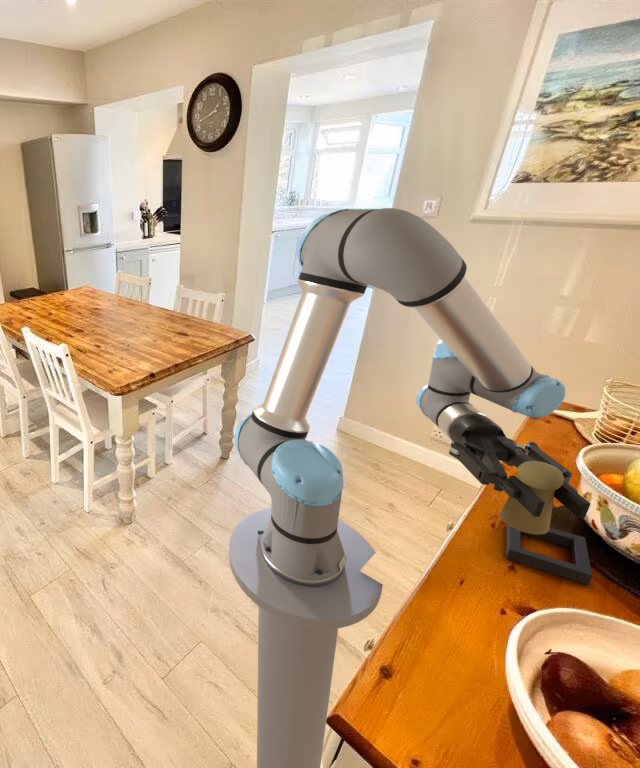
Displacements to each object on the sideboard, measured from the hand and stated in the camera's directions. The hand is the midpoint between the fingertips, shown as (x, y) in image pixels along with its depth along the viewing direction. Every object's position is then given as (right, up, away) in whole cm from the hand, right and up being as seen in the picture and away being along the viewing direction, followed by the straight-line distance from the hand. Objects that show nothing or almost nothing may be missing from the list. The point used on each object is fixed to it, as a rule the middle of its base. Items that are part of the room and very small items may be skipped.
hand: (561, 510), depth 59 cm
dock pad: (+11, -12, +13) cm, 21 cm away
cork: (+2, -4, +8) cm, 9 cm away
